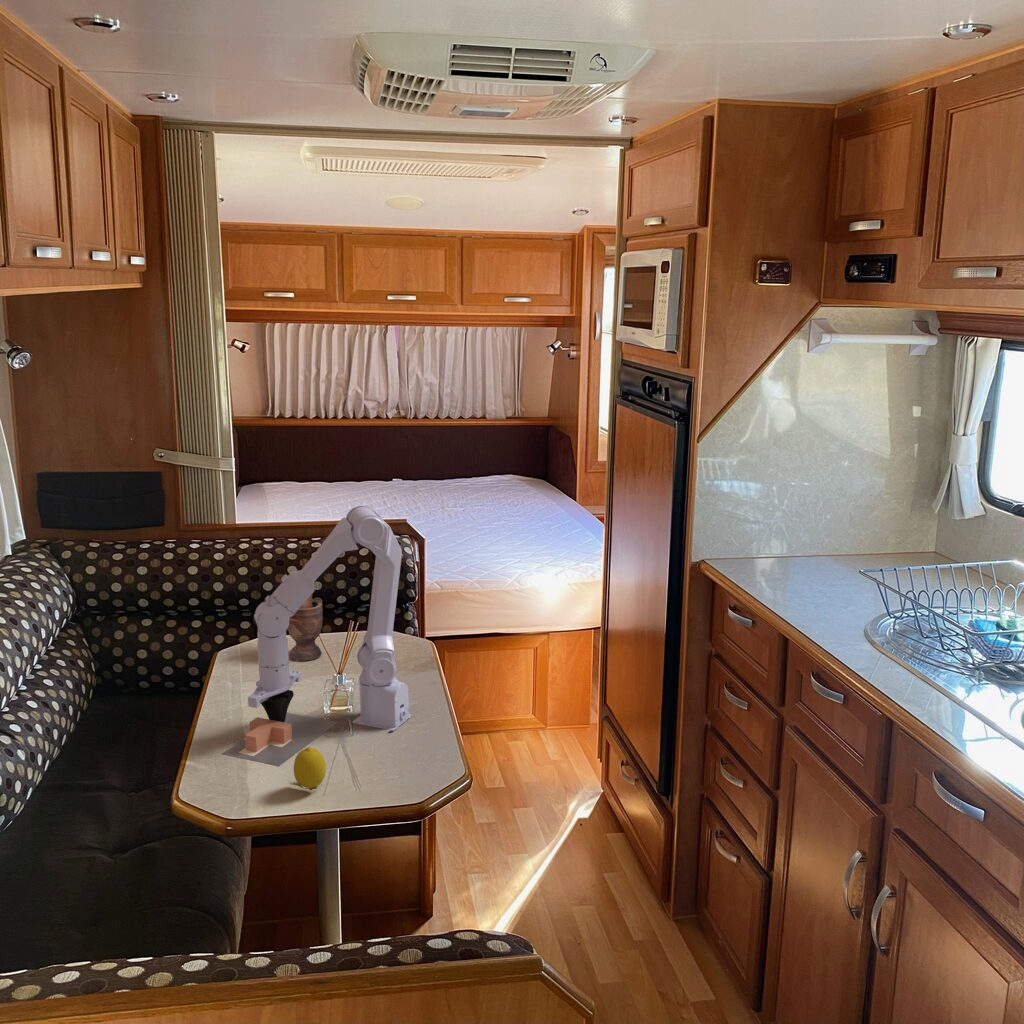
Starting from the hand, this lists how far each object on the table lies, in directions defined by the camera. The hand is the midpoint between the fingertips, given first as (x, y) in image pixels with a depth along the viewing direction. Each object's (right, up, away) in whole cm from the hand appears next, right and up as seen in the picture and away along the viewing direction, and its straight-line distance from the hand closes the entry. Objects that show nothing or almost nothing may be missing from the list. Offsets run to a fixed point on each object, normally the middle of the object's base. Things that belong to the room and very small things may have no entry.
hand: (277, 727), depth 191 cm
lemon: (+11, -7, -20) cm, 24 cm away
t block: (-2, -2, -4) cm, 5 cm away
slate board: (+1, -2, -2) cm, 3 cm away
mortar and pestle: (-4, +8, +43) cm, 44 cm away
